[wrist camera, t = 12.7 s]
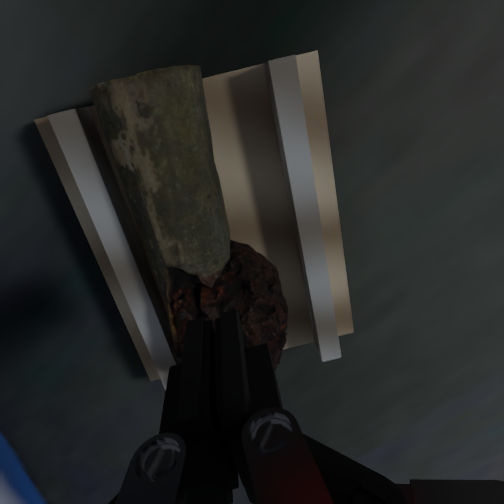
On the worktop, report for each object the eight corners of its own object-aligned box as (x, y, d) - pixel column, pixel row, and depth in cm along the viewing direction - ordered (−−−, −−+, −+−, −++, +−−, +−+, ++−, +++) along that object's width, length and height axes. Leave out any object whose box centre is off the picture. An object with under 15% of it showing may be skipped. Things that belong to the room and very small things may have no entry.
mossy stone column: (101, 86, 18) (56, 85, 12) (240, 60, 18) (253, 48, 13) (190, 372, 25) (185, 445, 20) (288, 351, 25) (309, 419, 20)
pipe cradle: (347, 321, 26) (364, 351, 23) (153, 368, 26) (145, 404, 23) (311, 52, 19) (329, 46, 16) (44, 118, 19) (13, 123, 16)
